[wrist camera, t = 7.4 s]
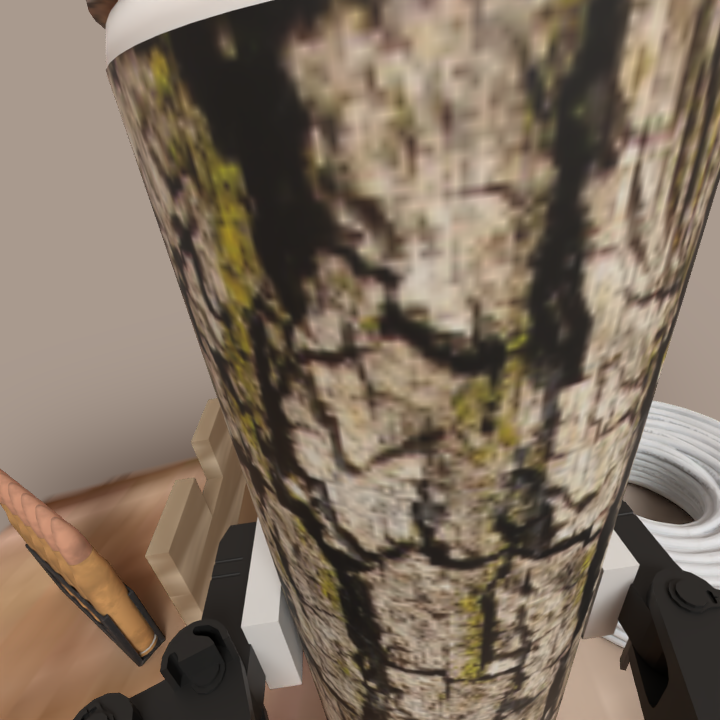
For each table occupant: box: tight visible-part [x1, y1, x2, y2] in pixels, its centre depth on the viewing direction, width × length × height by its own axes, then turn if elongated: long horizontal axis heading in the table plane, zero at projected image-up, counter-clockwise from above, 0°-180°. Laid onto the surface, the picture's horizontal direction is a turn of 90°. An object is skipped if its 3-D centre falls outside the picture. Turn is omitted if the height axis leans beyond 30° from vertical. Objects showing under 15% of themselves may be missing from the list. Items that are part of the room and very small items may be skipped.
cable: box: [602, 401, 720, 648], centre depth 27 cm, size 18×18×6 cm
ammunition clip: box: [0, 469, 165, 666], centre depth 25 cm, size 11×2×12 cm, turn 58°
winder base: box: [145, 398, 258, 626], centre depth 29 cm, size 16×16×9 cm
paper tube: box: [86, 0, 720, 720], centre depth 11 cm, size 7×7×25 cm
